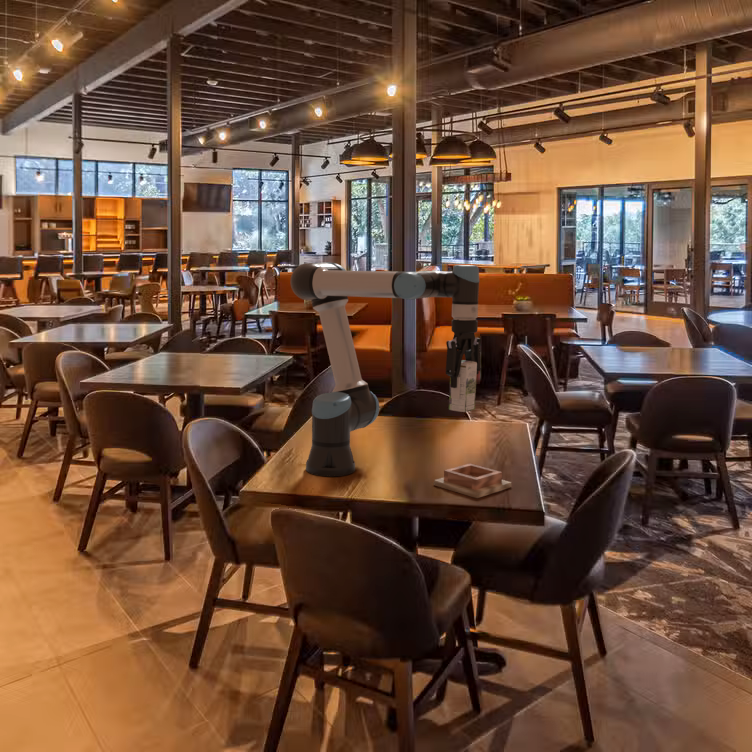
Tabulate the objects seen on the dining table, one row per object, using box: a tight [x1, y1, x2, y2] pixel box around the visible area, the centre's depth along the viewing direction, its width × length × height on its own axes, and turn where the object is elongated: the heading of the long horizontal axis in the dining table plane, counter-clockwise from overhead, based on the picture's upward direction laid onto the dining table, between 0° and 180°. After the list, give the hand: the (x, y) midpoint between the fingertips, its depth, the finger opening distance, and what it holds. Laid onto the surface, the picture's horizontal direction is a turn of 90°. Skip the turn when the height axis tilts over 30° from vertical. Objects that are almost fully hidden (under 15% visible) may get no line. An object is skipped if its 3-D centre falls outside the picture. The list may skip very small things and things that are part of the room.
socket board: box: [433, 463, 512, 499], centre depth 233 cm, size 16×16×4 cm
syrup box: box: [448, 359, 478, 413], centre depth 234 cm, size 6×6×14 cm
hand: (462, 397), depth 235 cm, fingers closed on syrup box, 6 cm apart
